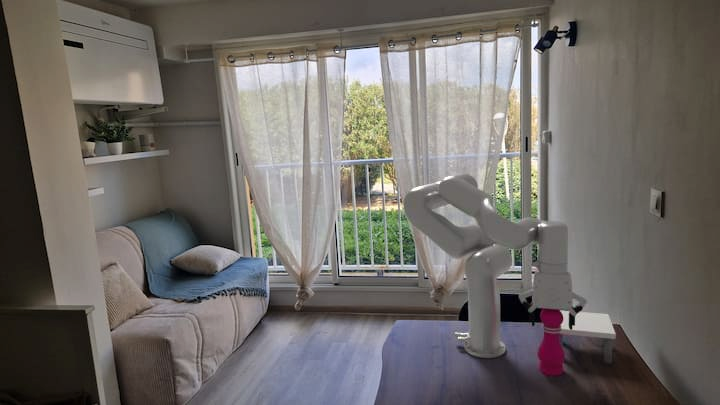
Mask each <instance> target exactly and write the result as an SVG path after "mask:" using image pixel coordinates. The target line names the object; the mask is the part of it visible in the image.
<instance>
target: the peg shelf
mask: <svg viewBox="0 0 720 405" xmlns="http://www.w3.org/2000/svg"><path fill="white" fill-rule="evenodd" d="M560 311H561V313H562V314H563V322H562V324H561V332H559V341H560V344H561V346H562V348H563V346H564V343H563V341H564V335H570V336H581V337H591V338H598V345H599V346H602V347H604V349H603V362H604V364H607V365H610V364H612V362H613V340H616V336H617V333H616V331H615V329H614V326H613V324H612V321H611V317H610V316H609V314H608V313H596V312H585V311H580V312H579V313H577V315H576V316H575V326H572V330H570V329H569V311H568V310H560ZM563 349H564V348H563Z"/></svg>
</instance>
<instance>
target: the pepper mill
mask: <svg viewBox="0 0 720 405" xmlns="http://www.w3.org/2000/svg"><path fill="white" fill-rule="evenodd" d="M539 318H540V322H542V324H541V329H542V331H543V337H542V341H541V343H540V345H539V347H538V350H537V353H536V354H537V359H538V360H539V362H538V369H539V371H540V372H541V373H543V374H545V375H547V376H556V377H557V376H560V375H562V374H563V373H564V365H563V363H564V362H565V361H566V360H565V359H566V353H565V351H564V348H562V346H561V344H560V341H559V332H561V324H562V322H563V314H562V313H561V311H560V310H555V309H543V308H542V310H541V312H540V314H539Z"/></svg>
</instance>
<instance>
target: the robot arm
mask: <svg viewBox="0 0 720 405" xmlns="http://www.w3.org/2000/svg"><path fill="white" fill-rule="evenodd" d="M493 204H494V198H493V196H492V195H491V194H490V193H487V192H485V191H483V190H482V189H480V188H479V185H478V182H477V180H476V179H475V177H474V176H473V175H471V174H468V173H458V174H453V175H448V176H446V177H445V178H443V179H442V180H441V181H437V182H433V183H429V184H424V185H421V186H420V185H419V186H417V187H413V188H411V189H410V190H409V191H408V192H407V193H406V194H405V196H404V199H403V210H404V213H405V216H406V218H407V220H408V221H409V222H410V224H411V225H412V226H413V227H415V228H416V229H417V230H418V231H420V232H421V233H422V234H424V235H425V236H426V237H427V238H428V239H430V240H431V241H432V242H433V243H434V244H436V246H438V247H439V248H440V249H441V250H442V251H443V252H445V253H446V255H448V256H450V257H451V258H452V259H455V260H460V259H463V258H466V257H468V258H467V259H466V261H465V264H464V275H465V279H466V286H467V304H468V305H467V309H468V310H467V311H468V331H465V332H457V331H455V332H454V338H455V339H457V342H459V343H462V342H463V348H464V351H465V352H466V353H468V354H469V355H471V356H474V357H476V358H483V359H494V358H498V357H501V356H502V355H503V354H505V352H506V350H507V349H506V345H505V343H504V342H503V341H501V296H500V289H499V285H498V281H497V279H498V278H499V277H501V276H502V275H504V274H505V273H506V272H508V271H509V270H511V267H512V265H513V257H512V254H511V252H510V251H509V249H510V250H514V251H521V250H524V249H525V248H528V247H529V246H531V245H535V244H537V260H535V261H532V262H531V266H532V267H534V268H536V269H535V270H534V274H533V279H532V289H529V290H527V291H524V292H522V293H519V294H518V299H519V301H520V303H521V304H522V305H523V306H522V307H524V308H525V309H526V310H527V311H528V314H529V316H528V318H529V319H528V321H529V322H528V323H531V327H535V325H536V324H535V322H536V321H535V320H536V318H535V316H536V314H535V313H536V312H535V310H536V309H537V308H538V309H542V310H543V309H555V310H562V311H569V329H570V330H572V326H575V316H576V315H577V313H579V312H582V311H583V309H584V308H585V306H586V304H587V302H588V300H587V299H586V298H585V297H583V296H581V295H579V294H577V293H575V292H574V291H573V280H572V279H573V278H572V275H571V272H570V271H569V270H568V258H569V257H568V256H569V254H568V252H569V250H568V249H569V227H568V225H567V224H566V223H564V222H562V221H556V220H554V221H553V220H550V221H549V220H543V219H539V218H536V217H533V216H532V217H530V216H528V217H527V216H526V217H523V218H521V219H519V220H516V221H512V220H510V219H508V218H507V217H505V216H503V215H502V214H500V213H499V212H497V211H496V210H495V208H494V207H493ZM448 205H451V206H453V207H454V208H455V209H456V210H459V211H461V212H463V213H464V214H465V215H467V216H469V217H471V218H472V219H474V220H475V221H476V224H477V225H476V224H464V225H461V226H458V225H456V224H454V223H453V222H451V220H449V219H447V217H445V216H444V215H442V214H440V213H437V212H435V211H434V210H435V209H439V208H442V207H445V206H448ZM528 297H531V299H532V300H531V303H529V301H527V299H526V298H528ZM574 300H575V301H577V302H579V303H578V304H577V305H575V306H573V301H574Z"/></svg>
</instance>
